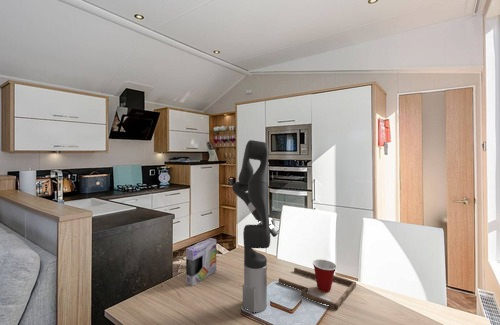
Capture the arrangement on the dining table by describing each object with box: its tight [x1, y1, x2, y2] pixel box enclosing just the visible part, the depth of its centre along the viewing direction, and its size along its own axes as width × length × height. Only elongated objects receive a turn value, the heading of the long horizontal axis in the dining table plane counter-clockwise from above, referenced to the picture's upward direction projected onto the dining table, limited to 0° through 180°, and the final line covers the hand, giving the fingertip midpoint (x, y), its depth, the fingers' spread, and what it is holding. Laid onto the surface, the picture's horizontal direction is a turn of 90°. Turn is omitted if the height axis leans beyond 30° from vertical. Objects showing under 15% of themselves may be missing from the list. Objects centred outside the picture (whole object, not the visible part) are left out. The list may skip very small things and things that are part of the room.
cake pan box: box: [185, 237, 217, 287], centre depth 129 cm, size 19×5×18 cm, turn 148°
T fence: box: [278, 267, 357, 311], centre depth 121 cm, size 24×30×2 cm
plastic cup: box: [312, 259, 338, 293], centre depth 118 cm, size 11×11×12 cm
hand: (275, 235), depth 135 cm, fingers closed
